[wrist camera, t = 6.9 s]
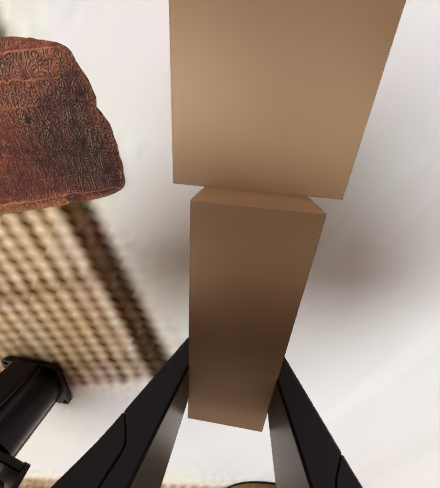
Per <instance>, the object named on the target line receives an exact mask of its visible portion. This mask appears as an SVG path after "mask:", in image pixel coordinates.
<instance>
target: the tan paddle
mask: <svg viewBox="0 0 440 488" xmlns="http://www.w3.org/2000/svg"><path fill="white" fill-rule="evenodd" d="M405 2H406V0H169V24H170V67H171V109H172V152H173V183H176V184H186V185H196V186H205V187H204V188H203V189H202V190H201V191H200V192H199V193H198V194H197V195H196V196H195V197H194V198H193V199H191V200H190V290H189V398H188V418H191V419H197V420H202V421H207V422H213V423H218V424H223V425H228V426H234V427H239V428H244V429H250V430H255V431H260V432H262V430H263V427H264V423H265V420H266V416H267V413H268V407H269V404H270V401H271V397H272V394H273V390H274V387H275V384H276V381H277V379H278V376H279V373H280V369H281V366H282V363H283V359H284V356H285V353H286V349H287V346H288V342H289V339H290V336H291V332H292V329H293V326H294V322H295V319H296V316H297V312H298V309H299V305H300V302H301V299H302V295H303V292H304V289H305V285H306V282H307V279H308V275H309V272H310V268H311V265H312V262H313V258H314V255H315V252H316V248H317V245H318V242H319V238H320V235H321V231H322V228H323V225H324V221H325V218H326V215H327V214H326V213H325V212H323V211H322V210H321V209H320V208H319V207H318V206H317V205H316V204H315V203H314V202H313V201H311V200H310V199H309V198H308V197H307V196H311V197H321V198H331V199H343V196H344V192H345V189H346V186H347V183H348V180H349V177H350V174H351V171H352V167H353V164H354V161H355V158H356V155H357V152H358V149H359V146H360V142H361V139H362V136H363V133H364V130H365V127H366V124H367V121H368V117H369V114H370V111H371V108H372V105H373V102H374V99H375V96H376V92H377V89H378V86H379V83H380V80H381V77H382V74H383V71H384V67H385V64H386V61H387V58H388V55H389V52H390V49H391V46H392V43H393V39H394V36H395V33H396V30H397V27H398V24H399V21H400V18H401V14H402V11H403V8H404V5H405Z"/></svg>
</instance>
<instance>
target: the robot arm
mask: <svg viewBox="0 0 440 488" xmlns="http://www.w3.org/2000/svg"><path fill="white" fill-rule="evenodd" d="M1 362H2V364H3V366H4V368H5V370H3V371H2V372H1V373H0V488H18V487H19V485H20V483H21V482H22V480H23V478H24V476H25V475H26V473H27V471H28V469H29V467H30V464H28V463H27V462H22V461H20V460H18V459H16V458H15V456H16V455H17V454H18V452H19V451H20V450H21V448H22V447H23V446H24V444H25V443H26V442H27V440H28V439H29V438H30V436H31V435H32V434H33V432H34V431H35V430H36V428H37V427H38V426H39V424H40V423H41V422H42V420H43V419H44V418H45V416H46V415H47V414H48V412H49V411H50V410H51V408H52V407H53V406H54V404H55V403H56V402H58V403H64V404H69V403H70V401H71V400H72V398H71V396H70V393H69V391H68V388H67V385H66V383H65V380H64V378H63V375H62V373H61V370H60V368H59V367H58V366H57V365H54V364H48V363H42V362H36V361H30V360H24V359H18V358H12V357H5V358H4V359H3V360H2V361H1ZM188 398H189V338H187V339H186V340H185V342H184V343H183V344H182V345H181V346H180V347H179V348H178V350H177V351H176V352H175V353H174V354H173V355H172V357H171V358H170V359H169V360H168V361H167V362H166V364H165V365H164V366H163V367H162V368H161V369H160V370H159V372H158V373H157V374H156V375H155V376H154V377H153V379H152V380H151V381H150V382H149V383H148V384H147V385H146V387H145V388H144V389H143V390H142V391H141V392H140V394H139V395H138V396H137V397H136V398H135V399H134V401H133V402H132V403H131V404H130V405H129V406H128V407H127V409H126V410H125V411H124V413H122V414H121V415H120V417H119V418H118V419H117V420H116V421H115V422H114V424H113V425H112V426H111V427H110V428H109V429H108V430H107V431H106V432H105V434H104V435H103V436H102V437H101V438H100V439H99V440H98V441H97V442H96V443H95V444H94V445H93V446H92V447H91V448H90V449H89V450H88V451H87V452H86V453H85V454H84V455H83V456H82V457H81V458H80V459H79V460H78V461H77V462H76V463H75V464H74V465H73V466H72V467H71V468H70V469H69V470H68V471H67V472H66V473H65V474H64V475H63V476H62V477H61V478H60V479H59V480H58V481H57V482H56V483H55V484H54V485H53V486H52V487H51V488H161V484H162V481H163V478H164V475H165V472H166V468H167V465H168V462H169V459H170V456H171V452H172V449H173V446H174V443H175V440H176V436H177V433H178V430H179V427H180V424H181V420H182V417H183V414H184V411H185V408H186V405H187V401H188ZM268 419H269V428H270V437H271V446H272V455H273V464H274V472H275V481H276V488H363V487H362V486H361V484H360V482H359V481H358V479H357V478H356V476H355V474H354V473H353V471H352V469H351V468H350V466H349V464H348V463H347V461H346V459H345V458H344V456H343V455H341V451H340V449H339V448H338V446H337V444H336V443H335V441H334V439H333V438H332V436H331V434H330V432H329V431H328V429H327V427H326V426H325V424H324V422H323V421H322V419H321V417H320V416H319V414H318V412H317V411H316V409H315V407H314V406H313V404H312V402H311V400H310V399H309V397H308V395H307V394H306V392H305V390H304V389H303V387H302V385H301V384H300V382H299V380H298V379H297V377H296V375H295V374H294V372H293V370H292V369H291V367H290V365H289V363H288V362H287V360H286V358H285V357H284V359H283V363H282V366H281V369H280V373H279V376H278V379H277V381H276V384H275V387H274V390H273V394H272V397H271V401H270V404H269V407H268Z"/></svg>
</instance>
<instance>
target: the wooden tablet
mask: <svg viewBox="0 0 440 488" xmlns="http://www.w3.org/2000/svg"><path fill="white" fill-rule="evenodd" d="M122 171H123V168H122V163H121V159H120V157H119V153H118V146H117V143H116V140H115V138H114V135H113V131H112V128H111V126H110V123H109V122H108V121H107V119H106V118H105V117H104V115H103V114H102V112H101V111H100V110H99V109H98V108H97V107H96V96H95V94H94V91H93V89H92V87H91V84H90V82H89V80H88V78H87V76H86V75H85V74H84V72H83V71H82V69H81V68H80V66H79V65H78V63H77V62H76V60H75V58H74V56H73V54H72V52H71V51H70V50H69V49H68V48H67V47H66V46H64V45H62V44H60V43H57V42H52V41H45V40H38V39H34V38H22V37H0V215H2V214H8V213H15V212H22V211H27V210H34V209H42V208H47V207H55V206H62V205H68V204H69V203H71V202H75V203H79V202H82V201H88V200H93V199H98V198H101V197H105V196H108V195H110V194H113V193H115V192H117V191H119V190H120V189H121V188H122V187H123V185H124V177H123V173H122Z"/></svg>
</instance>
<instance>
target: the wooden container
mask: <svg viewBox="0 0 440 488" xmlns="http://www.w3.org/2000/svg"><path fill="white" fill-rule="evenodd" d="M230 488H276V484H271V483H242V484H238V485H234V486H232V487H230Z"/></svg>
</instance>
